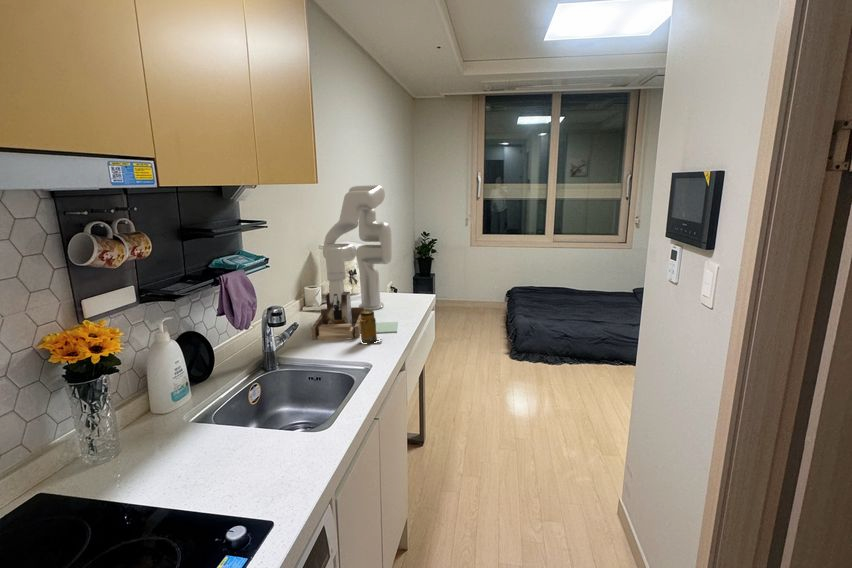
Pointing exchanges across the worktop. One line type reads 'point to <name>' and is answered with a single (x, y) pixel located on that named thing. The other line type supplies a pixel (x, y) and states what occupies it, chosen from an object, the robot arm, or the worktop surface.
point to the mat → (386, 327)
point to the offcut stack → (335, 331)
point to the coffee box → (344, 309)
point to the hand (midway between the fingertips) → (339, 316)
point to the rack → (324, 321)
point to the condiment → (368, 327)
